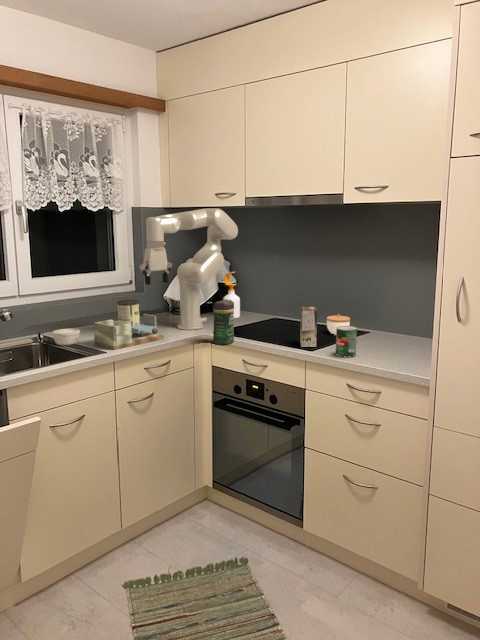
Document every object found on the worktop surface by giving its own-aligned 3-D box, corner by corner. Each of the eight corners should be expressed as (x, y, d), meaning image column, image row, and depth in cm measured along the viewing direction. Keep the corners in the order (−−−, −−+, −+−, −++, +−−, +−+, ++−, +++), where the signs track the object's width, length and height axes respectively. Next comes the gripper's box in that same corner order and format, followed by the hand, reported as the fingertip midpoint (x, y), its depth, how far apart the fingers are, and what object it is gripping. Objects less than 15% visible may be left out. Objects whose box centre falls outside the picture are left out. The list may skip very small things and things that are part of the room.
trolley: (144, 330, 245) (143, 313, 243) (158, 333, 238) (157, 316, 237) (126, 333, 238) (125, 316, 236) (140, 337, 231) (139, 319, 229)
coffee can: (122, 327, 261) (120, 299, 259) (142, 328, 260) (141, 299, 258) (115, 332, 251) (113, 302, 249) (136, 332, 250) (135, 303, 248)
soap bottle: (234, 319, 282) (233, 272, 278) (219, 317, 287) (219, 271, 282) (243, 316, 290) (243, 271, 285) (229, 314, 295) (229, 270, 290)
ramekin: (85, 340, 236) (84, 328, 235) (72, 346, 225) (71, 334, 224) (62, 339, 238) (61, 327, 237) (48, 345, 228) (47, 333, 227)
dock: (143, 334, 247) (142, 314, 245) (163, 338, 238) (162, 318, 236) (94, 344, 228) (93, 322, 226) (114, 349, 219) (113, 327, 217)
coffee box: (316, 348, 222) (317, 310, 219) (301, 348, 222) (302, 309, 219) (314, 342, 231) (315, 306, 228) (299, 342, 231) (300, 306, 228)
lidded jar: (354, 334, 247) (355, 314, 245) (339, 337, 240) (339, 317, 238) (336, 330, 255) (337, 311, 253) (321, 333, 248) (321, 313, 246)
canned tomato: (332, 355, 210) (333, 328, 208) (339, 351, 216) (340, 324, 214) (351, 358, 206) (352, 330, 204) (358, 354, 212) (359, 326, 210)
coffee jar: (227, 346, 225) (227, 302, 222) (210, 344, 229) (210, 301, 225) (237, 341, 234) (236, 299, 230) (220, 339, 237) (220, 298, 234)
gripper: (165, 244, 247) (167, 280, 250) (134, 245, 235) (136, 284, 238) (176, 244, 242) (177, 282, 245) (144, 246, 230) (145, 286, 233)
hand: (156, 283), depth 242 cm, fingers open, 9 cm apart
